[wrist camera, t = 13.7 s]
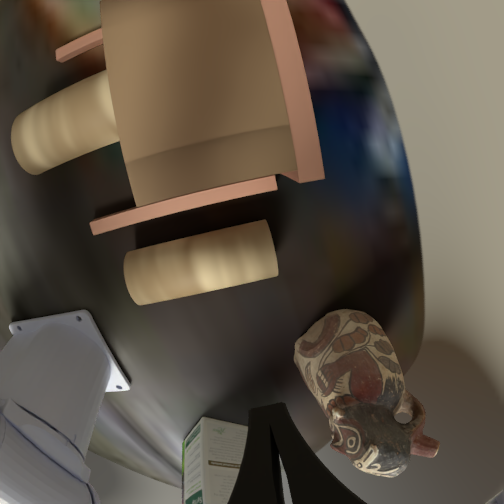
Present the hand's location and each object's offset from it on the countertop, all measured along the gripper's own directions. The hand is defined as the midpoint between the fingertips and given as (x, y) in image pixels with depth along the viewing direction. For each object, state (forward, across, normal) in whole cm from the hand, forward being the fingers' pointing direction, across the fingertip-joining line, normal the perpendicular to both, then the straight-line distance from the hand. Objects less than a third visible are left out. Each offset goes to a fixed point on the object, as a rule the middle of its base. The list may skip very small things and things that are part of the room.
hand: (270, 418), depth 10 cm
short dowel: (+10, +2, -4) cm, 11 cm away
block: (+9, 0, -13) cm, 16 cm away
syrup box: (+10, +6, +15) cm, 19 cm away
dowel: (+10, +4, -13) cm, 17 cm away
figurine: (+10, -6, +6) cm, 13 cm away
